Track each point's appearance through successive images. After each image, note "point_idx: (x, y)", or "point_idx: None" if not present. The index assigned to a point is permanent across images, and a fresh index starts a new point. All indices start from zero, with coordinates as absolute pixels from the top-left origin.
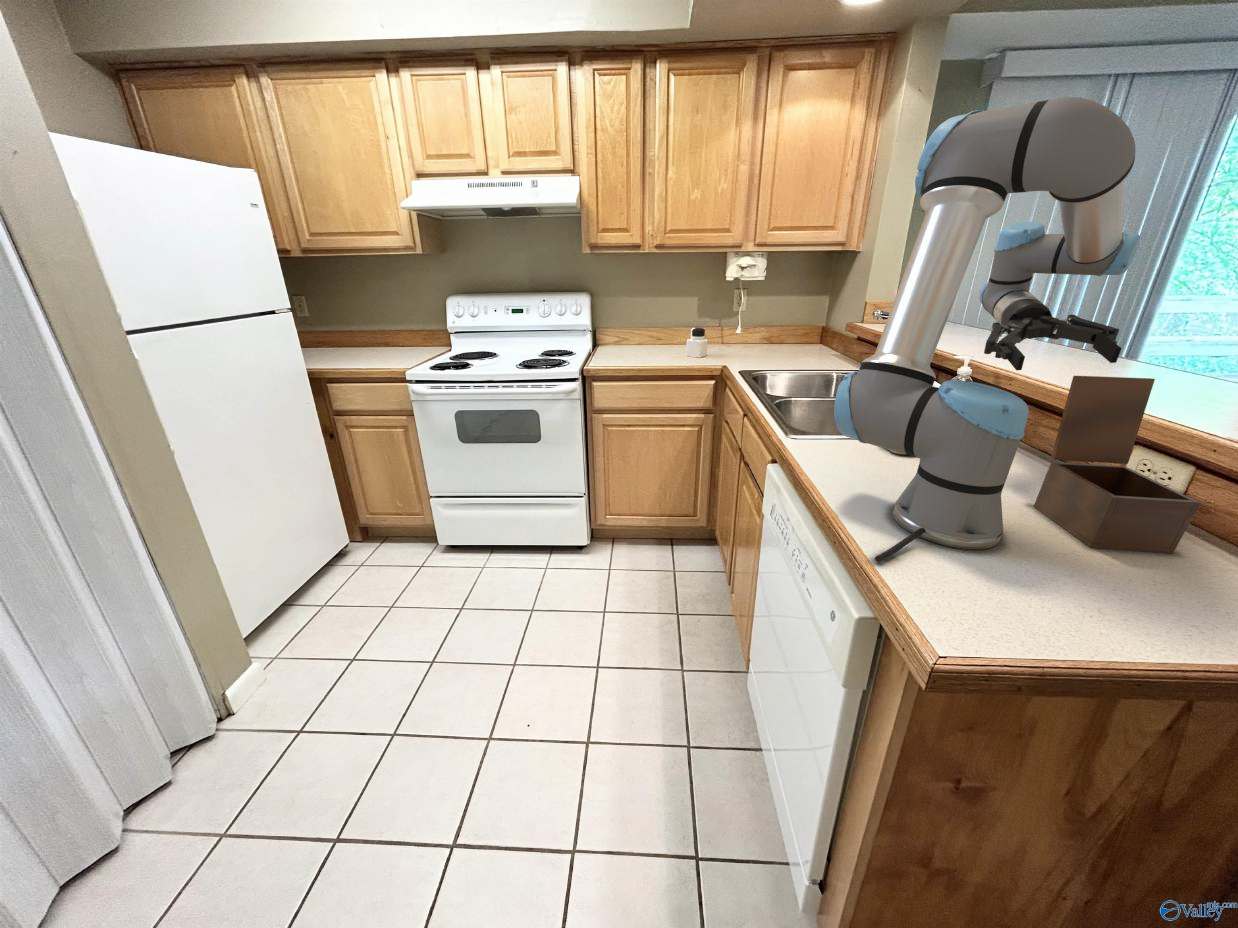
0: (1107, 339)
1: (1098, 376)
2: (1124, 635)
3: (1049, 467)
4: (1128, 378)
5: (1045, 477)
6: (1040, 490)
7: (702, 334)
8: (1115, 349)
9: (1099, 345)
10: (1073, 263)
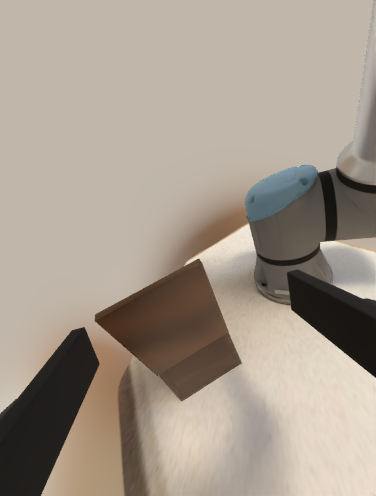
0: (33, 387)
1: (169, 278)
2: (210, 255)
3: (229, 335)
4: (131, 295)
5: (232, 342)
6: (236, 351)
7: None
8: (84, 330)
9: (44, 435)
10: None
